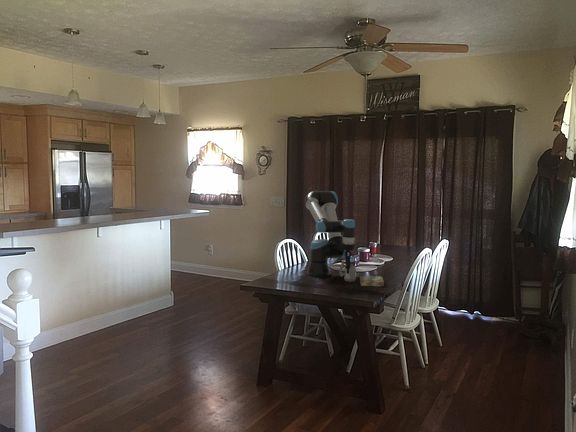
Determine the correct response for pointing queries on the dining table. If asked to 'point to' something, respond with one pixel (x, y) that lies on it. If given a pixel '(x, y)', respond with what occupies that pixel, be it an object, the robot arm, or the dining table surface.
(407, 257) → the dining table surface
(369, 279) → the stand
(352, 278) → the mug
